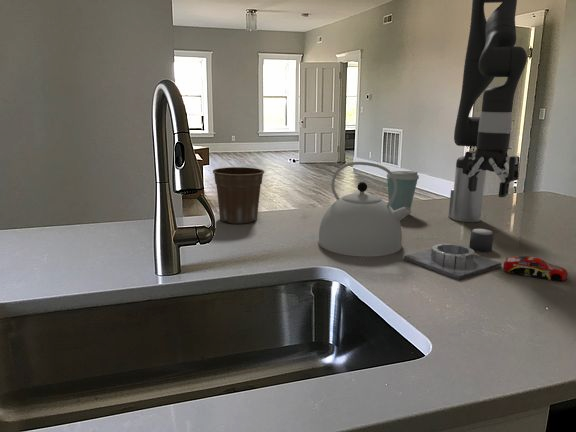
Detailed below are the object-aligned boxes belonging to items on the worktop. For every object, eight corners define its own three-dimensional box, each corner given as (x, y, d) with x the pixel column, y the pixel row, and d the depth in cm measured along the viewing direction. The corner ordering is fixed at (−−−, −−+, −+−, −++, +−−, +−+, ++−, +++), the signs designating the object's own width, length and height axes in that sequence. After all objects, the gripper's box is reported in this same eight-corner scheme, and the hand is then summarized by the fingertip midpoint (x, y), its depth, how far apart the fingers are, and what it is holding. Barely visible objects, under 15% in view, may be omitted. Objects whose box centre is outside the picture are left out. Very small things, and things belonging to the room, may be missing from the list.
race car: (566, 276, 108) (569, 260, 107) (567, 285, 103) (570, 267, 102) (503, 266, 114) (505, 251, 112) (502, 274, 109) (504, 257, 108)
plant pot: (256, 212, 163) (255, 165, 159) (270, 223, 148) (271, 173, 144) (209, 215, 157) (208, 167, 153) (220, 228, 143) (218, 175, 139)
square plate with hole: (403, 259, 117) (404, 246, 116) (445, 248, 125) (446, 236, 125) (458, 280, 104) (460, 265, 103) (500, 266, 113) (502, 252, 112)
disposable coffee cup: (378, 213, 162) (381, 170, 159) (393, 208, 170) (396, 167, 167) (406, 219, 156) (410, 174, 152) (420, 213, 164) (424, 170, 160)
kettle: (417, 239, 134) (423, 160, 129) (400, 263, 114) (406, 171, 109) (334, 228, 144) (337, 154, 139) (305, 248, 125) (307, 164, 119)
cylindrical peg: (464, 248, 127) (466, 230, 125) (477, 244, 130) (479, 227, 128) (483, 253, 122) (485, 235, 121) (496, 250, 125) (498, 232, 124)
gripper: (460, 129, 122) (454, 191, 126) (512, 132, 110) (504, 200, 114) (478, 128, 126) (471, 188, 130) (530, 132, 114) (521, 197, 118)
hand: (486, 194), depth 122 cm, fingers open, 8 cm apart
